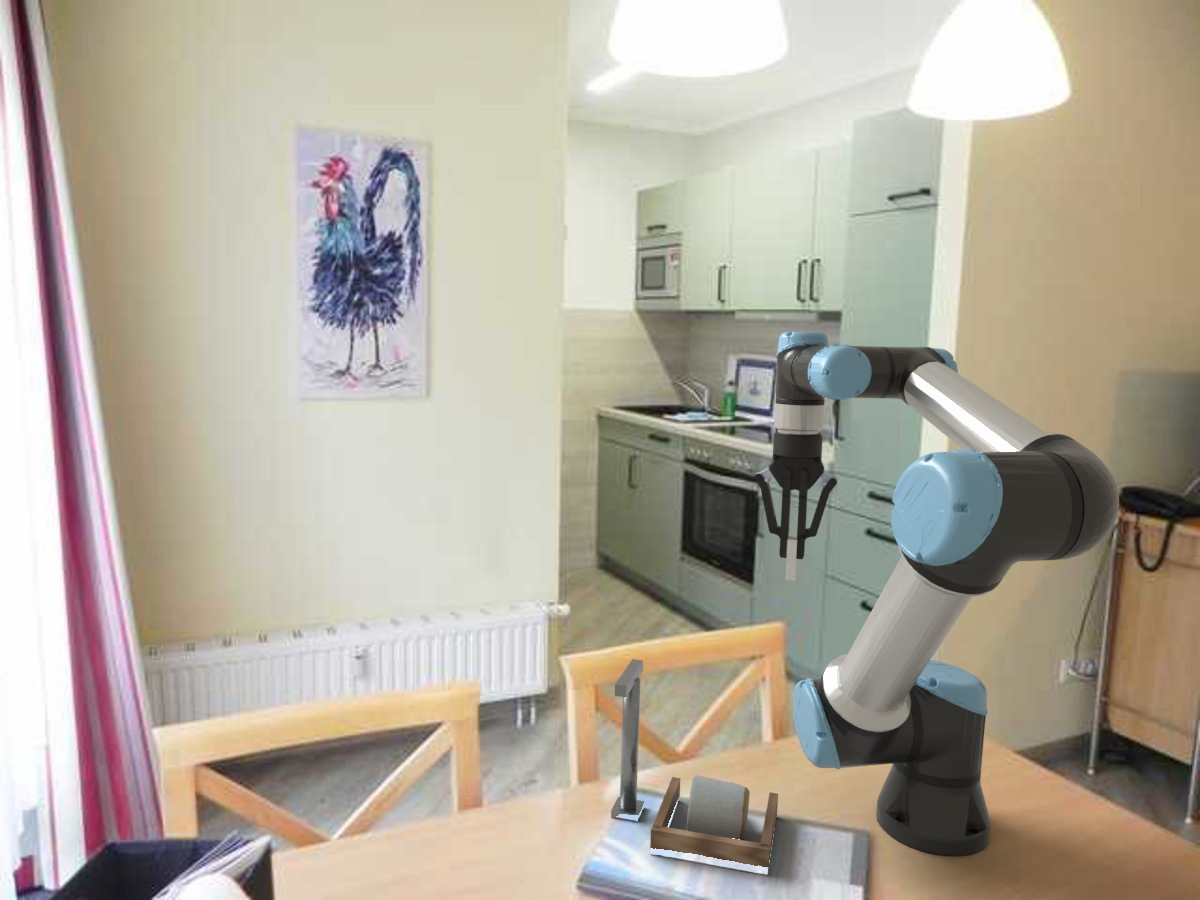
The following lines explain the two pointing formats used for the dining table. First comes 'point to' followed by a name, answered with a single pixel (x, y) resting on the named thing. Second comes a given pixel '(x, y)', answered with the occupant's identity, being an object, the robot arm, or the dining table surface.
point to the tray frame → (711, 843)
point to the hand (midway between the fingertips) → (790, 577)
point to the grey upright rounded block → (718, 808)
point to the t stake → (629, 739)
